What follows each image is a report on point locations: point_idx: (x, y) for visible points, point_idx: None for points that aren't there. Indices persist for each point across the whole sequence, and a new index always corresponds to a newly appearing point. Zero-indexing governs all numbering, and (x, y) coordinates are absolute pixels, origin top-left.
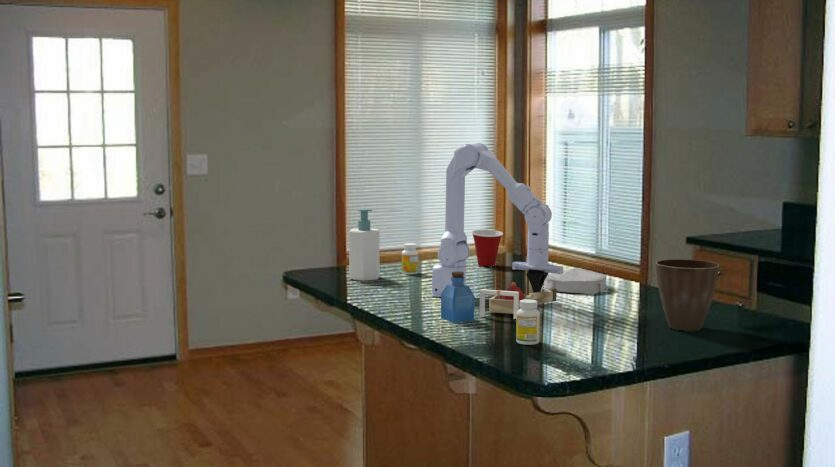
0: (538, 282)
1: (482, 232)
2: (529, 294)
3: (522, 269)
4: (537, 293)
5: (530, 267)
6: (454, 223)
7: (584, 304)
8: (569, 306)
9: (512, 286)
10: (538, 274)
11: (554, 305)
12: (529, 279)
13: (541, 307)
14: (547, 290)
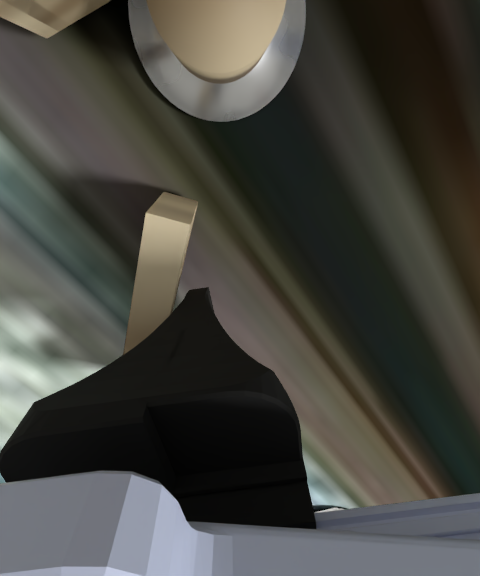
0: (116, 361)
1: None
2: (181, 218)
3: (442, 504)
4: (137, 278)
5: (24, 525)
6: None
7: (16, 422)
8: (13, 344)
9: None
10: (20, 432)
11: (89, 313)
12: (229, 352)
13: (90, 206)
14: (340, 509)
